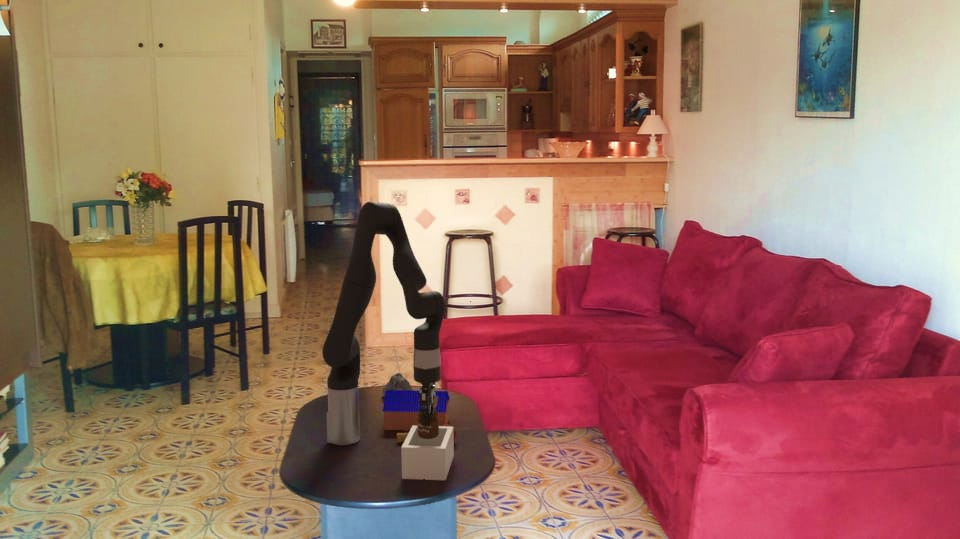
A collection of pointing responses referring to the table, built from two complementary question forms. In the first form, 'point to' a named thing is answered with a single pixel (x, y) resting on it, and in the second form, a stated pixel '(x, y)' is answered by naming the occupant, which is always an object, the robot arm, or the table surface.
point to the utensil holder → (433, 429)
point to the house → (410, 409)
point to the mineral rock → (397, 384)
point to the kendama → (402, 436)
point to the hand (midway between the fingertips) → (428, 421)
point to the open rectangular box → (427, 455)
